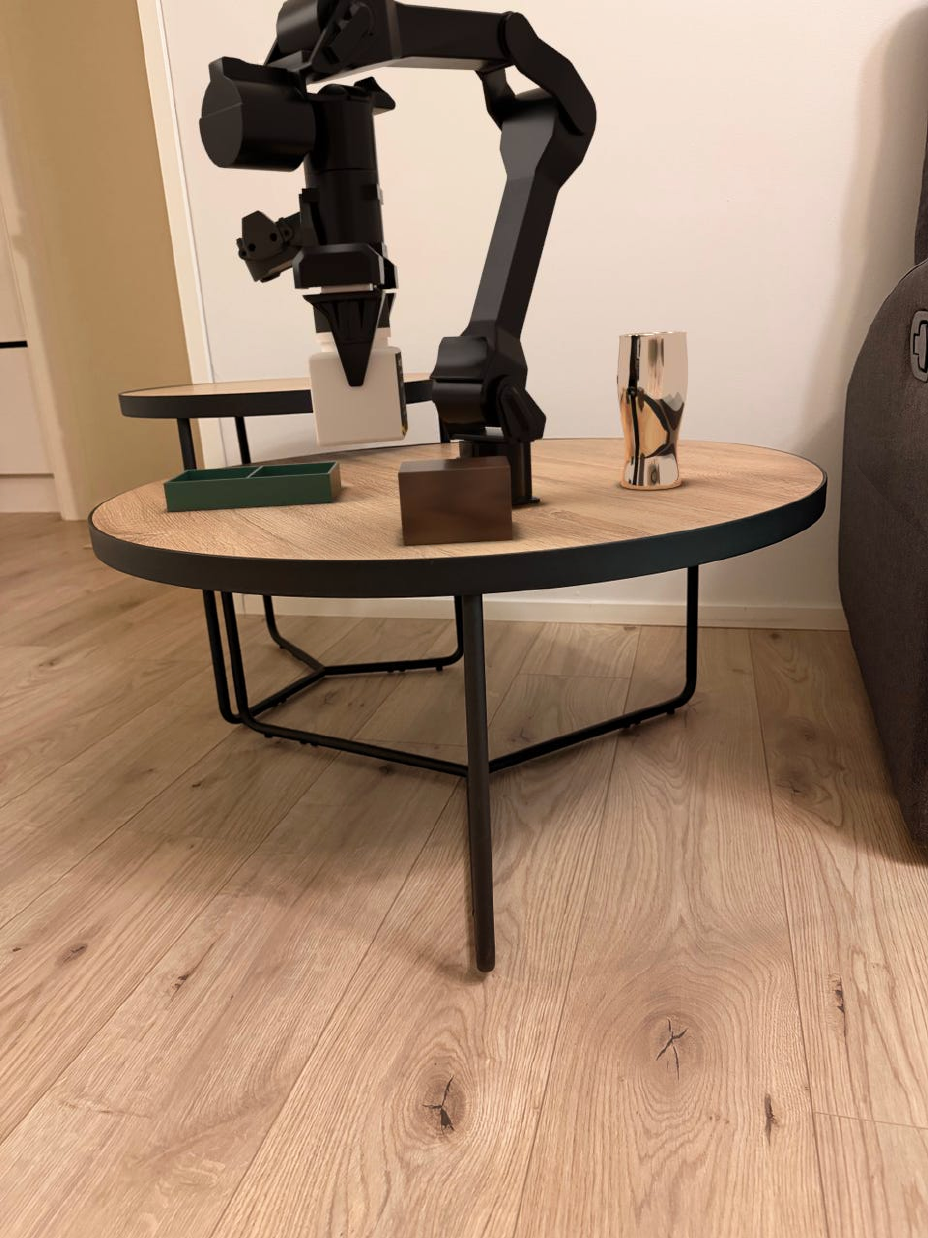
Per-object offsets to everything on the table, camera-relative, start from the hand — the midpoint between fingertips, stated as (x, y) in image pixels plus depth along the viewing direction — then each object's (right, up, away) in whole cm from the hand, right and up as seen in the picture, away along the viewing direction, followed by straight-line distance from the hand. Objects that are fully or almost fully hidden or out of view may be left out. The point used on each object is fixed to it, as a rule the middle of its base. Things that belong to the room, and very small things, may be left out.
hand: (361, 382), depth 76 cm
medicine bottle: (0, -5, +1) cm, 5 cm away
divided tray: (-14, -7, +24) cm, 28 cm away
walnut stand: (+8, -12, +2) cm, 15 cm away
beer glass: (+28, -6, +19) cm, 34 cm away
